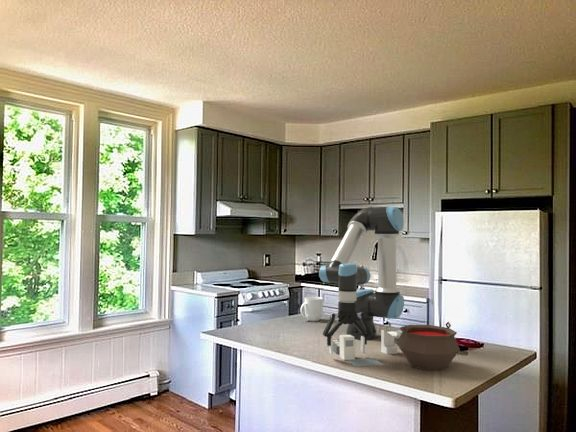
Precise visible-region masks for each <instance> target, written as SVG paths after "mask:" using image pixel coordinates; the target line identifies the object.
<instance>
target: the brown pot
mask: <svg viewBox="0 0 576 432" xmlns="http://www.w3.org/2000/svg"><path fill="white" fill-rule="evenodd" d="M451 327H452V325H451V322H450V321H447V322H446V323H445V325H444V326H439V325H433V324H406V325H405V326H402V327H399V330H400V331H401V334H400V336H399V338H398V341H397V342H396V346H397V347H399V350H400V351H401V352H402V354H403V356H404V357H405V359H406V360H407V362H408V363H409V364H410V366H412V368H416V369H421V370H426V371H441V370H444V369H446V368H448V366H449V365H450V364H451V362H452V361H453V360H454V359H455V357H456V356H457V355H458V353H460V351H461V349H460V347H459V345H458V344H459V343H458V342H457V339H456V337H455V336H456V335H457V334H458V332H457V331H455V330H453V329H452V328H451Z"/></svg>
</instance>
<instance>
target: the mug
mask: <svg viewBox="0 0 576 432" xmlns="http://www.w3.org/2000/svg"><path fill="white" fill-rule="evenodd" d="M303 299H304V302H303V303H302V304H301V306H300V311H299V312H300V314H301V316H302V317H303V318H306V319H307V321H309V322H319V321H320V319H321V318H322V315H323V311H324V310H323V308H324V298H323V297H321V296H305V297H304V298H303ZM303 309H304V311H303Z"/></svg>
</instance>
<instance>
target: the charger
mask: <svg viewBox="0 0 576 432" xmlns="http://www.w3.org/2000/svg"><path fill="white" fill-rule="evenodd" d="M339 340H340V354H339V357H340V359H342V360H343V361H347V360H355V359H356V351H355V350H356V348H355V346H356V343H355V338H354V336H351V335H346V334H339Z"/></svg>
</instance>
